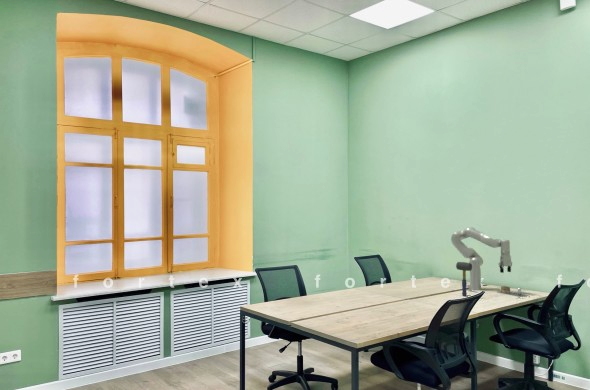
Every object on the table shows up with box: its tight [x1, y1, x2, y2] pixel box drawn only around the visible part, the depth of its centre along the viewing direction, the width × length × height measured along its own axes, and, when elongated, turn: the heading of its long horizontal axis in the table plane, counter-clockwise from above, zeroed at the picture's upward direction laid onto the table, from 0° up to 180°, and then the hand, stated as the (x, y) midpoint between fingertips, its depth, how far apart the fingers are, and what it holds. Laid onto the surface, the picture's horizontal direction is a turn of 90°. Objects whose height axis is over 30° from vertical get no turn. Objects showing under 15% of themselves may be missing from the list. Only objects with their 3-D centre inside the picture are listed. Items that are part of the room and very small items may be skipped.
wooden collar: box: [500, 285, 511, 294], centre depth 405 cm, size 8×7×5 cm
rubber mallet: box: [455, 261, 472, 297], centre depth 398 cm, size 12×8×30 cm, turn 41°
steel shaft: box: [517, 287, 522, 296], centre depth 393 cm, size 2×2×6 cm
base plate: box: [497, 291, 529, 298], centre depth 399 cm, size 24×12×2 cm, turn 27°
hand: (505, 272), depth 405 cm, fingers open, 9 cm apart
